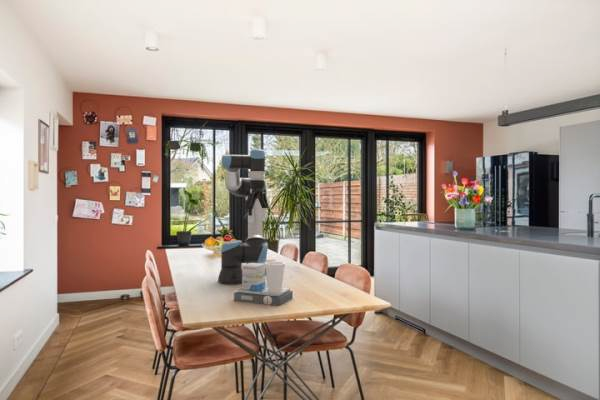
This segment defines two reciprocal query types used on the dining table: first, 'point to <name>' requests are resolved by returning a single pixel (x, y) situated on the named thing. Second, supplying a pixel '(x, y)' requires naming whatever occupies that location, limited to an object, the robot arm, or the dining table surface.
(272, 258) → the bowl
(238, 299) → the scale
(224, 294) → the dining table surface
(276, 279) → the foam cup
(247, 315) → the dining table surface
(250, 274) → the ink box
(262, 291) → the plate
